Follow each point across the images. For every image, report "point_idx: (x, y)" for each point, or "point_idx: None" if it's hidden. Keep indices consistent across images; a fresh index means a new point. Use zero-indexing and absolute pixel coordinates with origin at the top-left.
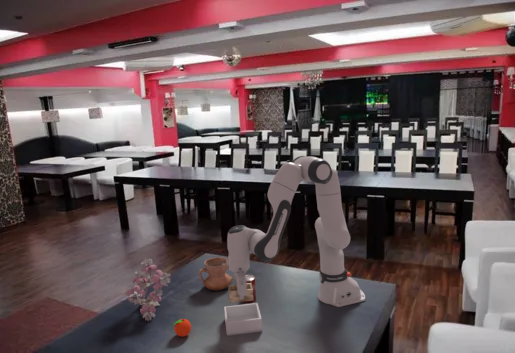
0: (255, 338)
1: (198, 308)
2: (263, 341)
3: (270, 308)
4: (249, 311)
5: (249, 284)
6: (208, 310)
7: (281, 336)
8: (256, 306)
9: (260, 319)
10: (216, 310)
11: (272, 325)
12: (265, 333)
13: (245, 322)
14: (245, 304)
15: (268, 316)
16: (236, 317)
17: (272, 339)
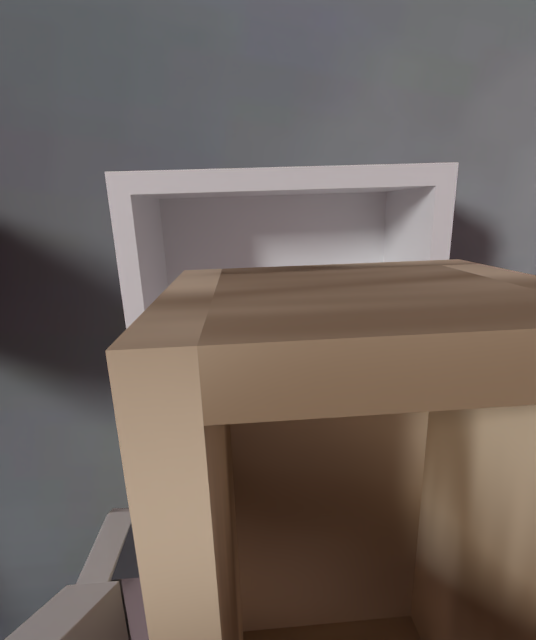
0: (464, 240)
1: (17, 609)
2: (517, 183)
3: (35, 36)
4: (158, 266)
5: (207, 417)
6: (47, 550)
7: (506, 13)
8: (183, 193)
9: (451, 177)
10: (49, 501)
11: (331, 69)
12: (426, 152)
13: None
14: (130, 318)
15: (181, 84)
16: None
17: (518, 104)
